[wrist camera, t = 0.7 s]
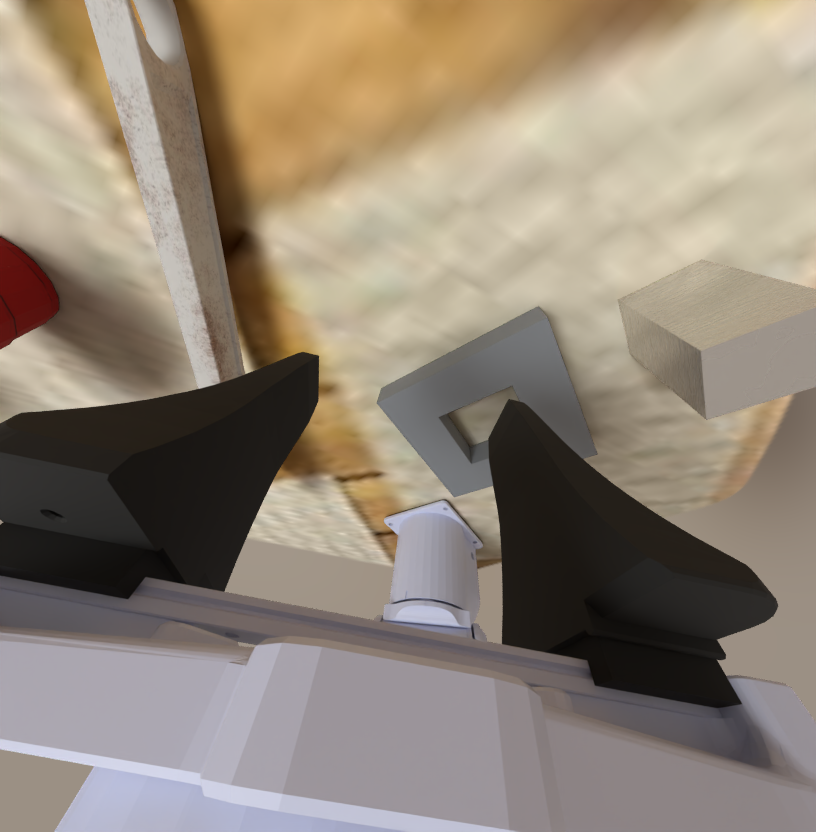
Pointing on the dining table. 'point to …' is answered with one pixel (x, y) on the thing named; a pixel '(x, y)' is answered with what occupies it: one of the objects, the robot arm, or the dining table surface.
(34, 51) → the dining table surface
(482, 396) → the socket block
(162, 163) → the wrench
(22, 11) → the dining table surface
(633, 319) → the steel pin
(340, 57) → the dining table surface
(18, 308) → the plastic cup
